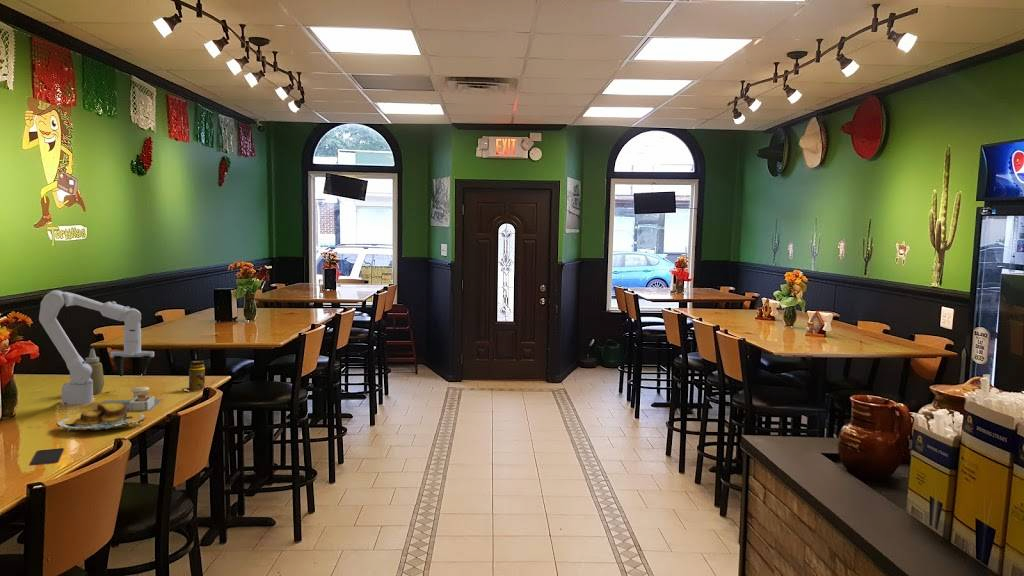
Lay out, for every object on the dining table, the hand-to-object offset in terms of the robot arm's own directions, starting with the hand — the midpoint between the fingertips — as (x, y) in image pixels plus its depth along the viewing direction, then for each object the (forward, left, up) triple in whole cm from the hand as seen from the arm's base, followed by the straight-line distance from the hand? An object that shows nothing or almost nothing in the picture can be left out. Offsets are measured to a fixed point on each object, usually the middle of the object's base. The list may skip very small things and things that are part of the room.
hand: (132, 375), depth 252 cm
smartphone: (-5, -64, -11) cm, 65 cm away
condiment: (+18, +20, -11) cm, 29 cm away
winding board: (+1, -11, -10) cm, 15 cm away
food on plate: (-1, -32, -11) cm, 33 cm away
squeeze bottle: (-19, +17, -11) cm, 28 cm away
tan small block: (+7, -14, -9) cm, 18 cm away
